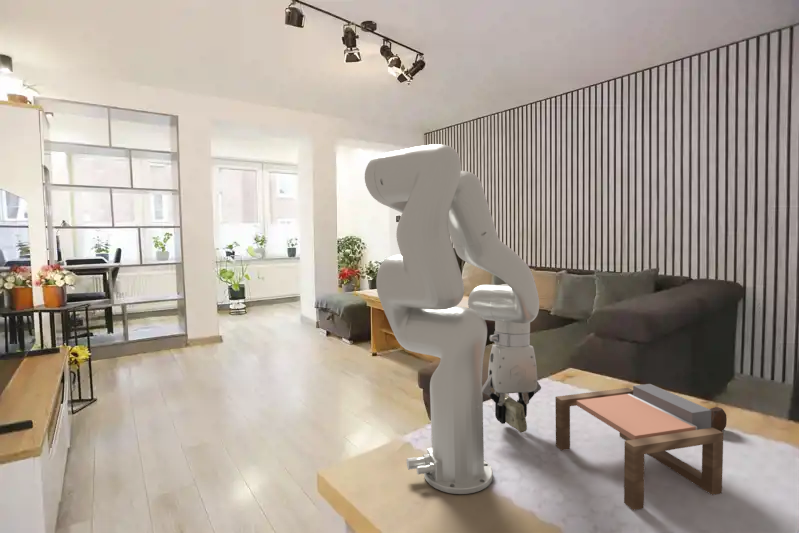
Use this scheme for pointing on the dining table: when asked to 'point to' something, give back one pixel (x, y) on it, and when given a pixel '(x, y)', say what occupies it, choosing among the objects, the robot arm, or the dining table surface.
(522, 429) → the cuneiform tablet
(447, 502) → the dining table surface
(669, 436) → the frame
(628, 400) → the trapdoor
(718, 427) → the bolt
